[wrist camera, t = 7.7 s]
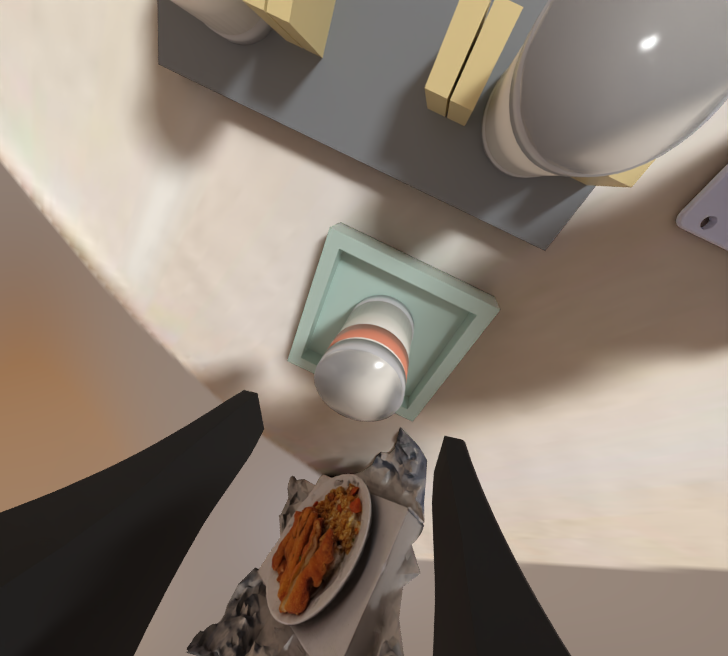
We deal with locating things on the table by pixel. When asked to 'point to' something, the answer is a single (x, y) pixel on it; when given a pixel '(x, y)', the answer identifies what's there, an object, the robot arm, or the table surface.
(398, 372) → the cylinder
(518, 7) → the fuse holder
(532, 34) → the fuse
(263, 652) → the meal
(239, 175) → the table surface
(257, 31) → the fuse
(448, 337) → the tray
